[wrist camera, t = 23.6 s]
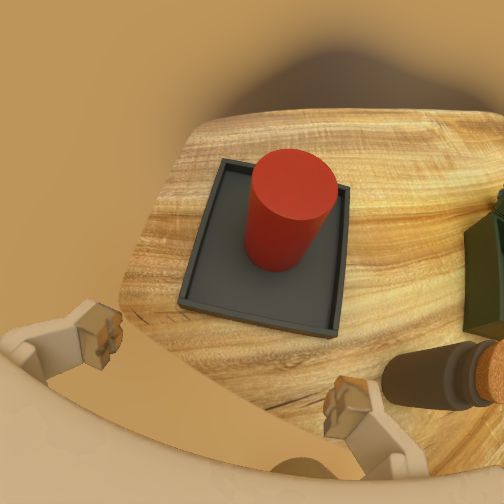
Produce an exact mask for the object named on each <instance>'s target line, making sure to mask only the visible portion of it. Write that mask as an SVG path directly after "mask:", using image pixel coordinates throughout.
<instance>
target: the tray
mask: <svg viewBox="0 0 504 504" xmlns="http://www.w3.org/2000/svg"><path fill="white" fill-rule="evenodd" d="M255 166H256V164H251V163H246V162H241V161H236V160H230V159H225V158H222V161H221V164H220V166H219V169H218V172H217V175H216V178H215V181H214V184H213V187H212V190H211V193H210V196H209V199H208V202H207V205H206V208H205V211H204V214H203V217H202V220H201V224H200V227H199V230H198V233H197V236H196V240H195V243H194V246H193V249H192V253H191V256H190V259H189V263H188V266H187V270H186V273H185V277H184V280H183V284H182V287H181V291H180V294H179V298H178V301H177V304H178V305H179V306H180V308H183V309H187V310H191V311H195V312H199V313H203V314H207V315H212V316H216V317H220V318H224V319H229V320H233V321H238V322H242V323H247V324H252V325H257V326H261V327H266V328H271V329H276V330H281V331H287V332H292V333H297V334H303V335H309V336H314V337H320V338H326V339H332V338H335V337H337V336H338V329H339V322H340V314H341V306H342V297H343V288H344V278H345V267H346V255H347V242H348V226H349V204H350V187H348V186H344V185H341V184H337V185H338V196H337V200H336V202H335V204H334V206H333V208H332V209H331V211H330V213H329V214H328V216H327V218H326V220H325V221H324V223H323V224H322V226H321V228H320V229H319V231H318V233H317V234H316V236H315V238H314V239H313V241H312V243H311V244H310V246H309V247H308V249H307V251H306V252H305V254H304V256H303V257H302V259H301V260H300V262H299V263H298V264H297V265H296V266H294V267H293V268H291V269H289V270H286V271H282V272H271V271H267V270H264V269H262V268H260V267H258V266H257V265H255V264H254V263H253V262H252V261H251V259H250V258H249V257H248V255H247V253H246V250H245V245H244V238H245V229H246V221H247V212H248V204H249V195H250V187H251V179H252V173H253V170H254V167H255Z"/></svg>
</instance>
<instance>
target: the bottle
mask: <svg viewBox="0 0 504 504" xmlns="http://www.w3.org/2000/svg"><path fill="white" fill-rule="evenodd" d="M382 389H383V393H384V395H385V396H386V398H387V399H388V400H389V401H390V402H391V403H393V404H396V405H401V406H407V407H416V408H425V409H436V410H451V411H463V410H467V409H469V408H471V407H472V406H475V407H486V406H489V405H491V404H493V403H498V404H504V339H503V340H501V341H499V342H496V341H493V340H488V341H483V342H480V343H478V344H476V343H475V342H471V341H466V342H460V343H456V344H451V345H447V346H442V347H437V348H432V349H427V350H422V351H417V352H411V353H406V354H402V355H399V356H397V357H395V358H394V359H392V360H391V361H390V362H389V364H388V365H387V366H386V368H385V370H384V373H383V377H382Z"/></svg>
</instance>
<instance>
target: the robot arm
mask: <svg viewBox="0 0 504 504" xmlns="http://www.w3.org/2000/svg"><path fill="white" fill-rule="evenodd" d="M122 321H123V320H122V313H121V312H119V311H117V310H114V309H111V308H110V307H107V306H105V305H103V304H101V303H98V302H96V301H93V300H91V299H85V300H84V301H83V302H82V303H81V304H79V305H78V306H77V307H76V308H75V309H74V310H73V311H72V312H70V313H69V314H68V315H67V316H66V317H65V318H64V319H62V318H57V319H52V320H48V321H44V322H40V323H35V324H31V325H27V326H22V327H18V328H14V329H10V330H9V331H8V332H7V333H6V334H4V335H3V336H2V337H1V338H0V504H504V469H503V468H502V467H500V466H498V465H492V466H487V467H483V468H479V469H474V470H469V471H464V472H459V473H453V474H447V475H440V476H433V477H430V472H429V468H428V464H427V459H426V455H425V451H424V450H423V449H422V448H421V447H420V446H419V445H418V444H417V443H416V442H415V441H414V440H413V439H412V438H411V437H410V436H409V435H408V433H407V432H406V431H405V430H404V429H403V428H402V427H401V426H400V425H399V424H398V423H397V422H396V421H395V420H394V419H393V418H392V416H391V415H390V414H389V413H385V409H384V405H383V401H382V396H381V392H380V388H379V384H378V382H377V381H373V380H366V379H358V378H352V377H346V376H339V377H338V378H337V379H336V381H335V382H334V384H335V388H333V389H331V390H329V392H328V394H327V395H326V398H325V401H324V406H323V414H324V415H325V416H326V417H327V419H326V420H325V421H324V437H329V438H336V439H344V440H345V442H346V444H347V445H348V447H349V449H350V450H351V452H352V453H353V455H354V457H355V458H356V460H357V461H358V463H359V464H360V466H361V468H362V469H363V471H364V473H365V474H366V476H364V477H363V478H362V479H361V480H336V479H321V478H311V477H302V476H293V475H286V474H280V473H273V472H267V471H262V470H256V469H252V468H247V467H242V466H238V465H233V464H229V463H225V462H221V461H217V460H213V459H210V458H206V457H203V456H200V455H196V454H193V453H190V452H187V451H184V450H181V449H178V448H175V447H172V446H169V445H166V444H163V443H160V442H158V441H155V440H153V439H150V438H148V437H145V436H143V435H140V434H138V433H135V432H133V431H131V430H129V429H126V428H124V427H122V426H120V425H117V424H115V423H113V422H111V421H109V420H107V419H105V418H103V417H101V416H99V415H97V414H95V413H93V412H91V411H89V410H87V409H85V408H83V407H82V406H80V405H78V404H76V403H74V402H73V401H71V400H69V399H67V398H66V397H64V396H62V395H61V394H59V393H57V392H56V391H54V390H52V389H51V388H49V387H48V384H47V381H46V380H47V379H49V378H51V377H54V376H56V375H58V374H61V373H62V372H65V371H67V370H69V369H72V368H74V367H76V366H79V365H81V364H83V362H84V363H86V364H88V365H90V366H92V367H94V368H97V369H99V370H103V369H104V367H105V366H106V364H107V363H108V362H109V361H110V354H113V353H116V351H117V350H118V349H119V347H120V345H121V342H122V338H123V330H122V328H121V327H120V324H121V322H122Z"/></svg>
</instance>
